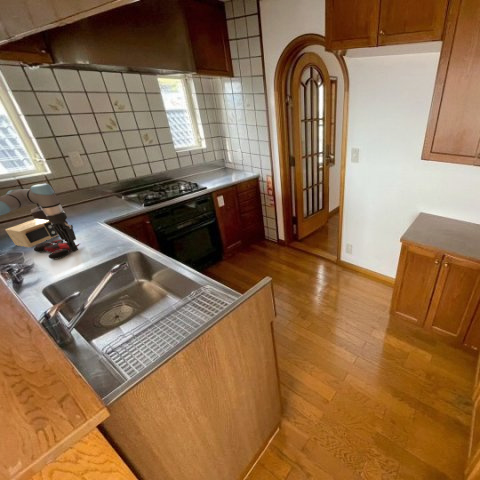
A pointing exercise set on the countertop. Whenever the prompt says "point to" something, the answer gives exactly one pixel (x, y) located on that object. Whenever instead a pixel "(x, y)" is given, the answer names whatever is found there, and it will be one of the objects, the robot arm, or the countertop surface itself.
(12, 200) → the robot arm
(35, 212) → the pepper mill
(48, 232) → the mini oven
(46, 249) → the toy motorcycle
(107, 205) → the countertop surface
